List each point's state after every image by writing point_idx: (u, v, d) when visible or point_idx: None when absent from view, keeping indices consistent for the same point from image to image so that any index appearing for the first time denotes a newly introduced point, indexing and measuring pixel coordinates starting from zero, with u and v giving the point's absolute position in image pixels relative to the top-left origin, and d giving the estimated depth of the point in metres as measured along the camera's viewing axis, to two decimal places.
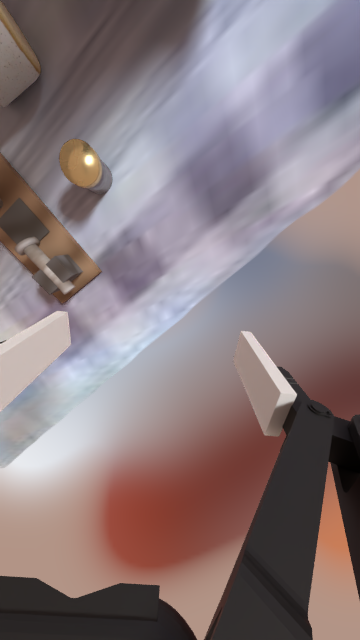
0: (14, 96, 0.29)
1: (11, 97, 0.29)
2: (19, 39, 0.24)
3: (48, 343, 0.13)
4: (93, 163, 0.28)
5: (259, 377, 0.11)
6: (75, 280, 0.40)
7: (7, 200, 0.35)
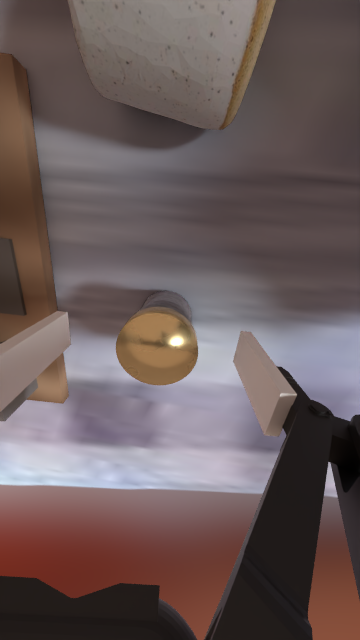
0: (141, 108, 0.12)
1: (134, 105, 0.12)
2: (250, 71, 0.09)
3: (48, 343, 0.13)
4: (179, 370, 0.14)
5: (259, 377, 0.11)
6: None
7: None
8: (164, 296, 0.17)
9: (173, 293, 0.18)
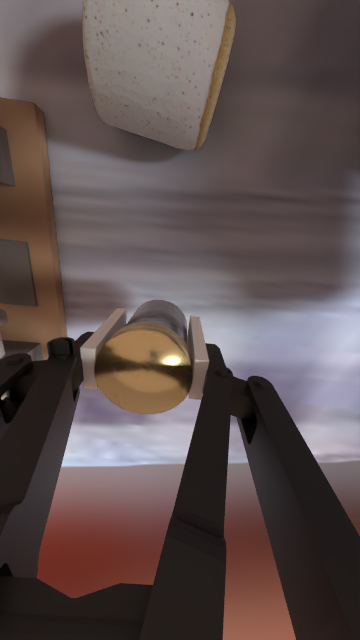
0: (135, 133, 0.16)
1: (129, 131, 0.15)
2: (211, 115, 0.13)
3: None
4: (170, 397, 0.11)
5: (191, 351, 0.13)
6: None
7: (2, 228, 0.19)
8: (155, 307, 0.15)
9: (166, 303, 0.16)
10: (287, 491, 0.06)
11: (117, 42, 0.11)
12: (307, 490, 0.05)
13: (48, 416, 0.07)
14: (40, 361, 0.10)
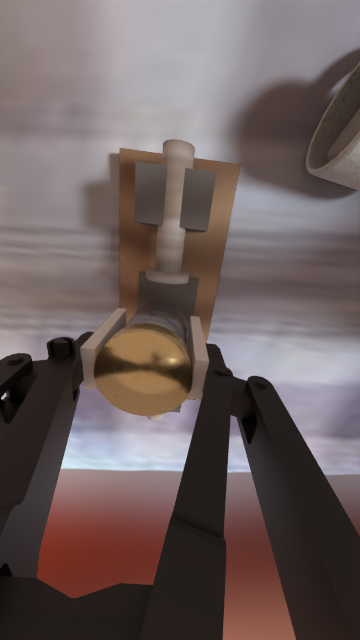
0: (335, 182, 0.17)
1: (332, 180, 0.17)
2: None
3: None
4: (170, 399, 0.11)
5: (191, 351, 0.13)
6: None
7: (180, 266, 0.22)
8: (155, 308, 0.15)
9: (166, 303, 0.16)
10: (287, 491, 0.06)
11: None
12: (307, 490, 0.05)
13: (47, 416, 0.07)
14: (40, 361, 0.10)
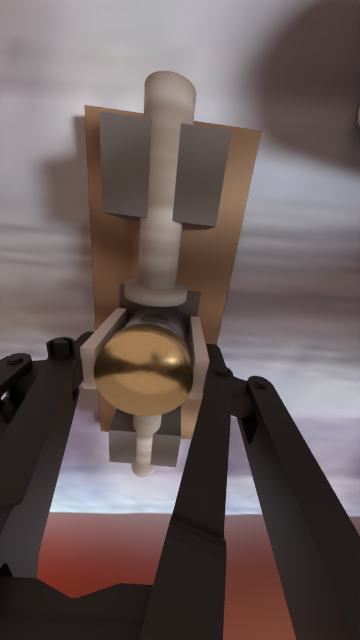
0: None
1: None
2: None
3: None
4: (171, 399, 0.11)
5: (191, 351, 0.13)
6: None
7: (176, 276, 0.16)
8: (155, 308, 0.15)
9: None
10: (287, 491, 0.06)
11: None
12: (307, 490, 0.05)
13: (47, 416, 0.07)
14: (40, 361, 0.10)
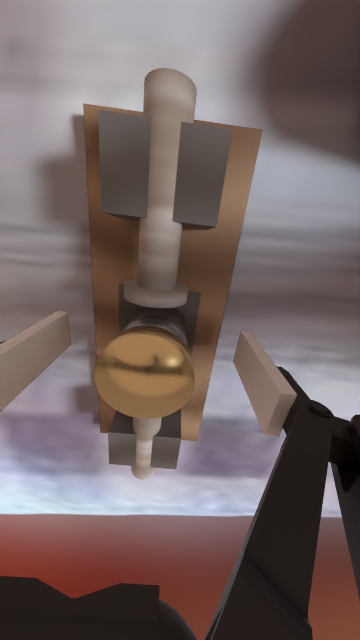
0: None
1: None
2: None
3: (48, 343, 0.13)
4: (172, 401, 0.11)
5: (259, 377, 0.11)
6: None
7: None
8: (155, 309, 0.14)
9: None
10: None
11: None
12: None
13: None
14: None
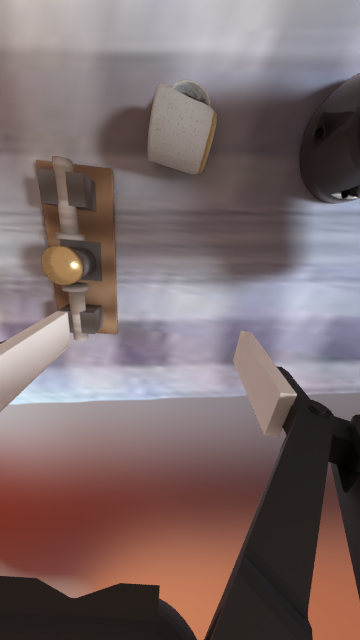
0: (165, 165, 0.29)
1: (162, 164, 0.29)
2: (206, 159, 0.27)
3: (48, 343, 0.13)
4: (73, 275, 0.29)
5: (259, 377, 0.11)
6: None
7: (87, 234, 0.33)
8: (74, 247, 0.32)
9: (82, 247, 0.33)
10: None
11: (164, 132, 0.24)
12: None
13: None
14: None
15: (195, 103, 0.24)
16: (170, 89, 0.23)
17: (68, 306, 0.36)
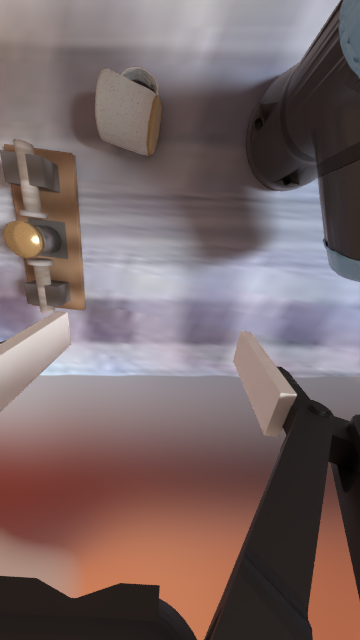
0: (119, 146, 0.32)
1: (116, 145, 0.32)
2: (151, 140, 0.29)
3: (48, 343, 0.13)
4: (33, 249, 0.32)
5: (259, 377, 0.11)
6: None
7: (52, 214, 0.37)
8: (39, 225, 0.35)
9: (47, 226, 0.37)
10: None
11: (108, 113, 0.27)
12: None
13: None
14: None
15: (136, 87, 0.26)
16: (114, 73, 0.26)
17: (36, 281, 0.39)
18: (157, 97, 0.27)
